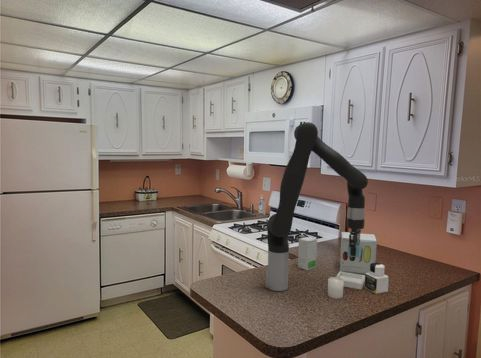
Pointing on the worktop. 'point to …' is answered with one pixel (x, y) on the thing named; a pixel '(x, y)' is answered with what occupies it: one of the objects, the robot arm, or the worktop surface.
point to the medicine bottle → (376, 279)
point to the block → (358, 250)
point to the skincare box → (307, 253)
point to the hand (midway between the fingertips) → (354, 254)
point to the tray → (352, 280)
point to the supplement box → (365, 258)
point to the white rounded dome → (335, 287)
